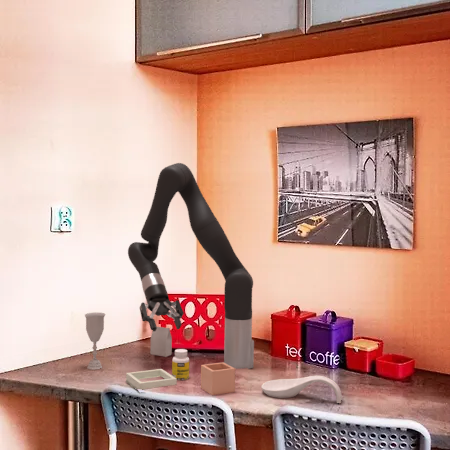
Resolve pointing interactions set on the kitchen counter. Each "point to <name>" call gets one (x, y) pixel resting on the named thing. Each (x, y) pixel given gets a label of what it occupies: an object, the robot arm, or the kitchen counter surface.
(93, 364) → the chalice
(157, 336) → the tea bag
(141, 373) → the tray
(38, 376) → the kitchen counter surface
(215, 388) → the tan open box
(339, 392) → the spoon rest
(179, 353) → the supplement bottle
